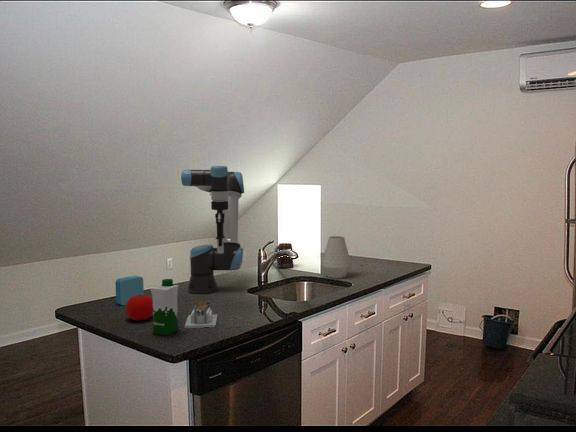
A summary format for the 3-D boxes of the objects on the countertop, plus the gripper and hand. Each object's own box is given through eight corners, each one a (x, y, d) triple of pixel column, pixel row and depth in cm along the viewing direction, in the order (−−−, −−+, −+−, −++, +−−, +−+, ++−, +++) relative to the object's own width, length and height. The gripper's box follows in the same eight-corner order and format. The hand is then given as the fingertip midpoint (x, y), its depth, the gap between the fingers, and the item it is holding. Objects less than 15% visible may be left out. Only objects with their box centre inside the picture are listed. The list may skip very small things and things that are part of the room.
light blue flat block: (138, 299, 237) (138, 274, 235) (144, 300, 234) (143, 276, 232) (115, 304, 228) (115, 279, 226) (121, 306, 225) (120, 280, 223)
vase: (343, 272, 297) (343, 234, 294) (356, 278, 280) (356, 238, 278) (316, 274, 291) (316, 235, 289) (328, 280, 275) (328, 240, 273)
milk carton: (181, 329, 192) (180, 279, 190) (168, 337, 183) (166, 284, 182) (162, 327, 195) (161, 277, 193) (148, 334, 187) (147, 282, 185)
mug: (283, 265, 319) (283, 242, 318) (296, 266, 313) (296, 243, 312) (268, 269, 307) (268, 245, 305) (282, 271, 301) (282, 246, 299)
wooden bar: (199, 306, 206) (199, 301, 206) (205, 306, 207) (205, 301, 206) (196, 313, 196) (196, 308, 196) (203, 313, 196) (203, 308, 196)
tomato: (127, 324, 198) (127, 299, 197) (124, 316, 209) (124, 292, 208) (156, 321, 202) (155, 296, 201) (152, 313, 214) (151, 289, 213)
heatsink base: (188, 317, 208) (188, 299, 207) (217, 316, 209) (216, 298, 208) (184, 328, 194) (184, 308, 193) (215, 327, 195) (215, 307, 194)
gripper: (212, 199, 224) (213, 250, 227) (210, 202, 211) (211, 255, 214) (228, 199, 224) (229, 250, 227) (227, 202, 211) (228, 255, 214)
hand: (220, 252), depth 220 cm, fingers closed
